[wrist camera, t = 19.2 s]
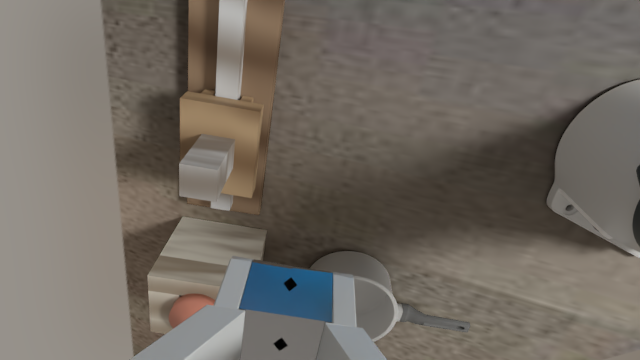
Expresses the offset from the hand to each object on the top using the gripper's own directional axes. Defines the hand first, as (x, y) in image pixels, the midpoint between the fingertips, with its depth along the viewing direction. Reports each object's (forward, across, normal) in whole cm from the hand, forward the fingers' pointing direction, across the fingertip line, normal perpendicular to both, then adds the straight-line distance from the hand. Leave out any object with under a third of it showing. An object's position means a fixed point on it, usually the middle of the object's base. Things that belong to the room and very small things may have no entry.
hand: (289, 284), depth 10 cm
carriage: (+29, -8, -10) cm, 32 cm away
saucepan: (+32, +12, -28) cm, 44 cm away
